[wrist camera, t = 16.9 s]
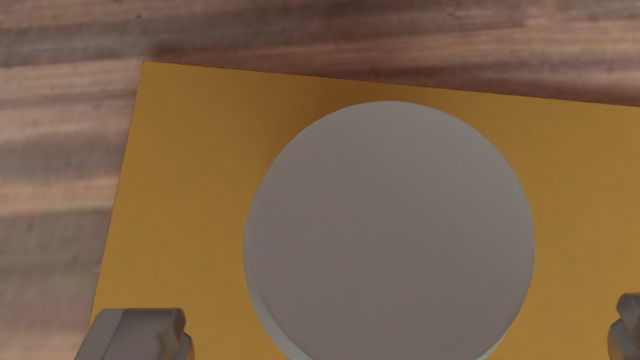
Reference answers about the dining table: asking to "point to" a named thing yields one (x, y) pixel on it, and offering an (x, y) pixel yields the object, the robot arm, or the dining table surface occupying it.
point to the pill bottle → (388, 239)
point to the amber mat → (297, 114)
